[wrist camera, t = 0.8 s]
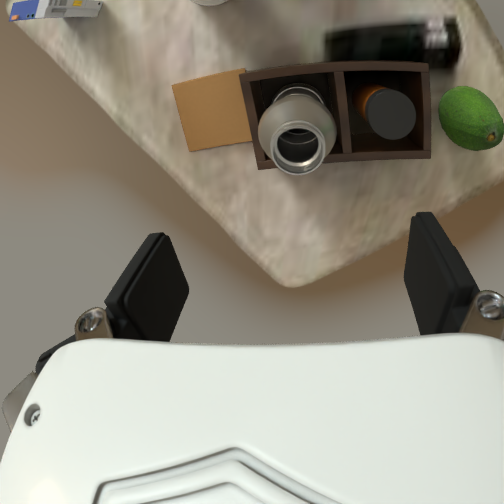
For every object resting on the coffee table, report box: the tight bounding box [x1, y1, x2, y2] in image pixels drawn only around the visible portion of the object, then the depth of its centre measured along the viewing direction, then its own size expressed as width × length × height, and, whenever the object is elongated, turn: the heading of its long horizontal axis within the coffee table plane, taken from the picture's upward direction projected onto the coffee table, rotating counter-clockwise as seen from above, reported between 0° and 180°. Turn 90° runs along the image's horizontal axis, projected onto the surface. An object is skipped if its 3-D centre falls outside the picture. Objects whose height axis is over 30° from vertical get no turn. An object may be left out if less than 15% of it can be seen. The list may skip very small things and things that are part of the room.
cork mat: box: [172, 68, 252, 152], centre depth 37 cm, size 10×10×1 cm
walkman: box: [9, 0, 103, 21], centre depth 23 cm, size 8×3×12 cm, turn 70°
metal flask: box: [258, 83, 337, 175], centre depth 27 cm, size 6×7×20 cm
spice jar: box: [352, 82, 416, 140], centre depth 29 cm, size 5×5×10 cm
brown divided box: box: [239, 60, 431, 170], centre depth 31 cm, size 11×20×8 cm, turn 101°
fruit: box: [438, 86, 504, 151], centre depth 26 cm, size 8×8×12 cm
